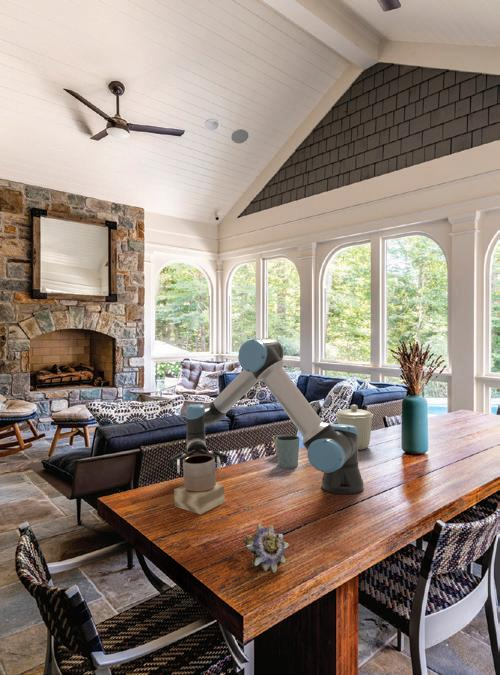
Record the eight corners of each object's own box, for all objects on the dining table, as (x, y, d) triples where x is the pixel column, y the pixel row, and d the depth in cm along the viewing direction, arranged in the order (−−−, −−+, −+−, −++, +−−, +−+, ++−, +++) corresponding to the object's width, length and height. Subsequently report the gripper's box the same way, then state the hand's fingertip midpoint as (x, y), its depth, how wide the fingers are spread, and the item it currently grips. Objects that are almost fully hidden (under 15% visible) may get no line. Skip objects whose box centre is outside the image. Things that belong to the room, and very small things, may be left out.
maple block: (224, 503, 152) (224, 485, 152) (200, 515, 142) (200, 496, 142) (198, 496, 159) (198, 479, 159) (174, 507, 149) (173, 489, 149)
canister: (345, 441, 230) (344, 400, 229) (379, 445, 219) (378, 403, 219) (329, 449, 215) (328, 406, 215) (365, 454, 204) (364, 409, 204)
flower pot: (292, 459, 201) (291, 439, 200) (271, 458, 202) (271, 439, 202) (294, 453, 210) (293, 435, 210) (274, 452, 212) (274, 434, 211)
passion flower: (273, 593, 108) (259, 567, 101) (243, 569, 115) (227, 544, 109) (301, 555, 113) (288, 528, 107) (269, 534, 121) (256, 508, 114)
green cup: (273, 467, 189) (272, 439, 189) (280, 460, 198) (280, 434, 198) (296, 469, 185) (295, 441, 185) (302, 462, 194) (302, 435, 194)
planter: (221, 482, 154) (220, 454, 153) (207, 494, 144) (205, 465, 143) (194, 479, 158) (192, 452, 157) (178, 491, 148) (176, 462, 147)
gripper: (229, 458, 170) (236, 475, 149) (163, 462, 166) (161, 481, 145) (229, 438, 170) (236, 453, 149) (163, 442, 166) (160, 458, 145)
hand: (199, 467), depth 147 cm, fingers open, 13 cm apart
